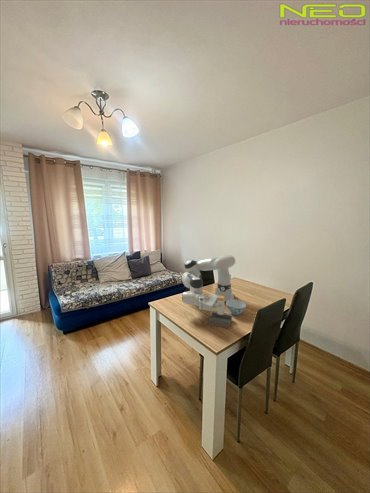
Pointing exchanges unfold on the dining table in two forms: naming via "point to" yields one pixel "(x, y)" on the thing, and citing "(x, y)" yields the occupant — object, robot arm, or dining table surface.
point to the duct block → (220, 319)
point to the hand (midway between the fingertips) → (222, 303)
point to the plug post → (221, 309)
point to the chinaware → (235, 306)
